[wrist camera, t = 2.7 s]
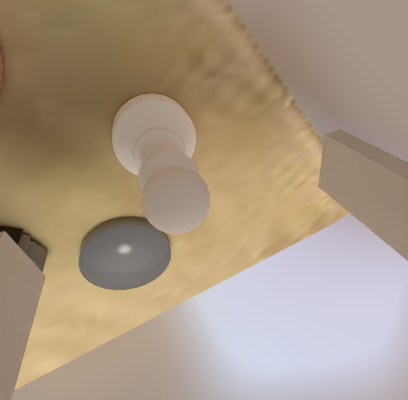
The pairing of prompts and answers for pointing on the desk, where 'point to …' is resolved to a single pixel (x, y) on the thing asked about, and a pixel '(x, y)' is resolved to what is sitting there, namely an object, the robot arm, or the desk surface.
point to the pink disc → (1, 69)
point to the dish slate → (124, 254)
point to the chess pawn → (162, 161)
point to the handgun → (27, 246)
